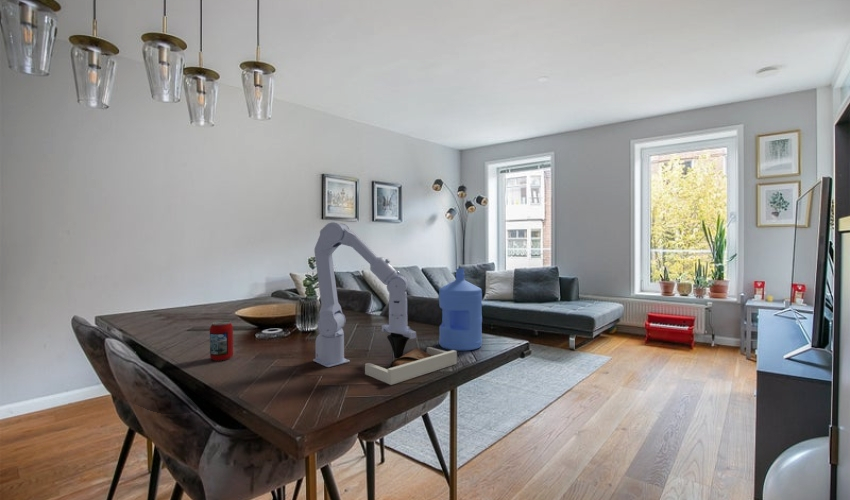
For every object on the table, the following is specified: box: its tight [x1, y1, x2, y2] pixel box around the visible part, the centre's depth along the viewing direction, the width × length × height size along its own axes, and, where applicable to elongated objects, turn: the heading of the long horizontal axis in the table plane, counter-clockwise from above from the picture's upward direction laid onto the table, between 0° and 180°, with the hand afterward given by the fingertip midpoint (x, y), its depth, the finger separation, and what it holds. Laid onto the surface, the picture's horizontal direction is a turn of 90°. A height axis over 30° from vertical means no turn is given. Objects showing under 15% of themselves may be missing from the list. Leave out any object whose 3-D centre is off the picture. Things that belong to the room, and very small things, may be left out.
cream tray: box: [364, 346, 458, 386], centre depth 120 cm, size 12×26×4 cm, turn 133°
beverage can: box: [209, 320, 234, 362], centre depth 131 cm, size 7×7×12 cm
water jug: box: [438, 268, 483, 352], centre depth 145 cm, size 16×16×28 cm
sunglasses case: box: [389, 346, 431, 368], centre depth 124 cm, size 18×7×7 cm
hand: (398, 357), depth 125 cm, fingers closed
